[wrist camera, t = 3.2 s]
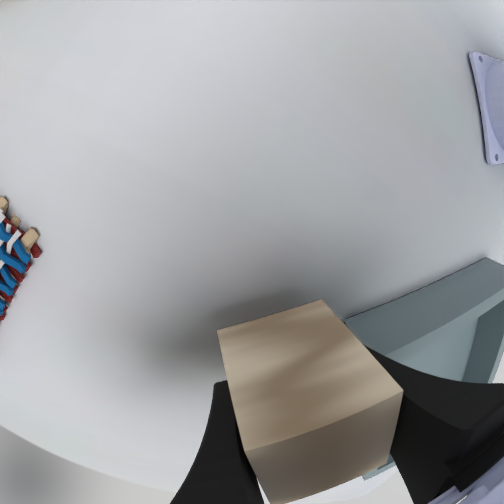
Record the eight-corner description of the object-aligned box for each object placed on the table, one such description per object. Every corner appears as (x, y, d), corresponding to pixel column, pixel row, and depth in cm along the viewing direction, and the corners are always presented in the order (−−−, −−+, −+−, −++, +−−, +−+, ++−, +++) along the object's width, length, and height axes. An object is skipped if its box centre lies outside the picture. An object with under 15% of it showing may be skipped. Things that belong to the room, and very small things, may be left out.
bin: (486, 257, 18) (522, 274, 14) (459, 386, 23) (481, 408, 19) (345, 319, 16) (380, 357, 13) (346, 448, 21) (364, 480, 17)
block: (321, 299, 13) (403, 390, 7) (328, 374, 14) (386, 463, 8) (216, 330, 12) (244, 451, 6) (241, 402, 13) (272, 507, 8)
